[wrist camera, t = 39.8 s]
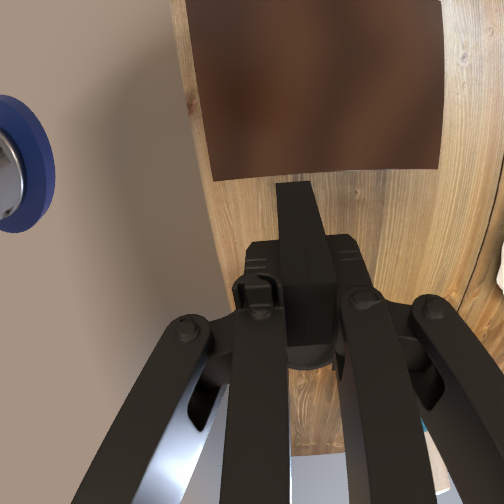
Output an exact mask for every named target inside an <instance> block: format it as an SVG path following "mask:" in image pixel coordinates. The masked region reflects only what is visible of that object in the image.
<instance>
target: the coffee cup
mask: <svg viewBox="0 0 504 504" xmlns="http://www.w3.org/2000/svg"><path fill="white" fill-rule="evenodd" d="M334 349H335V345H334V339H332V344H323V345H311V346H298V347H287V353H288V368H291V369H295V370H313V369H318V368H321V367H324V366H326V365H328V364H330V363H332V362H333V358H334Z"/></svg>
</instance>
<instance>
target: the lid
mask: <svg viewBox="0 0 504 504" xmlns="http://www.w3.org/2000/svg"><path fill="white" fill-rule="evenodd" d="M185 2H186V10H187V17H188V24H189V31H190V38H191V45H192V52H193V59H194V66H195V72H196V79H197V85H198V92H199V98H200V104H201V111H202V117H203V123H204V129H205V135H206V141H207V147H208V153H209V159H210V165H211V171H212V177H213V181H214V182H215V181H224V180H233V179H243V178H253V177H264V176H276V175H288V174H302V173H317V172H335V171H358V170H393V169H438V164H439V156H440V147H441V136H442V124H443V107H444V34H443V19H442V8H441V1H438V0H185Z"/></svg>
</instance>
